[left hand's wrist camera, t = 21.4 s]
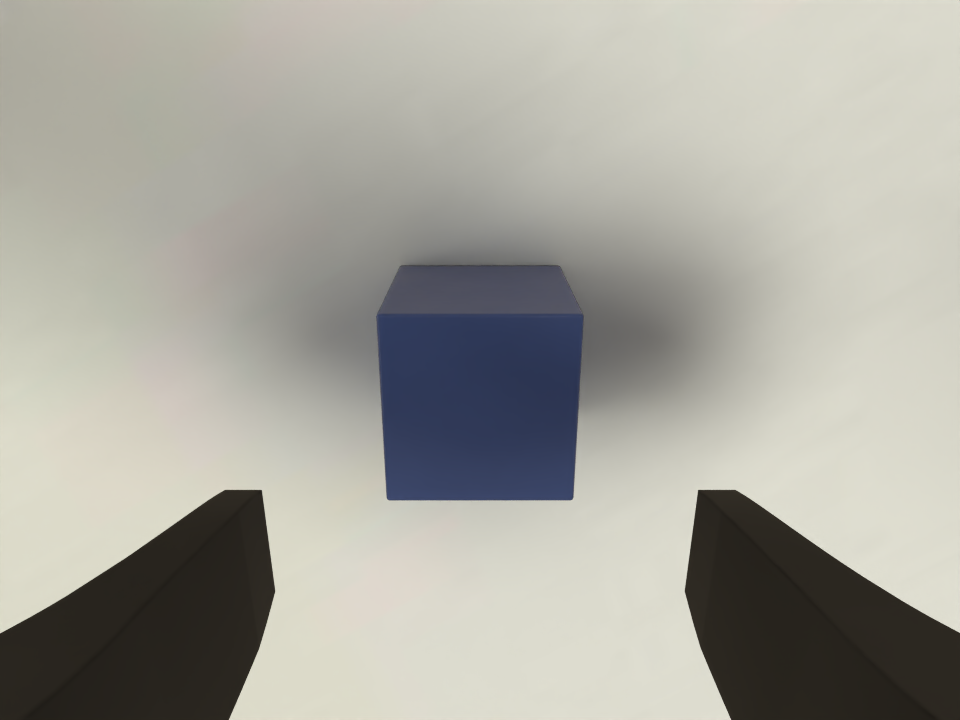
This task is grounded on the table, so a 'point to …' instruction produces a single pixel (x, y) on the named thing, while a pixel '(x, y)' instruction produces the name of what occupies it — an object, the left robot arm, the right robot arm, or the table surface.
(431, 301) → the block
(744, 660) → the left robot arm
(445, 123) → the table surface
